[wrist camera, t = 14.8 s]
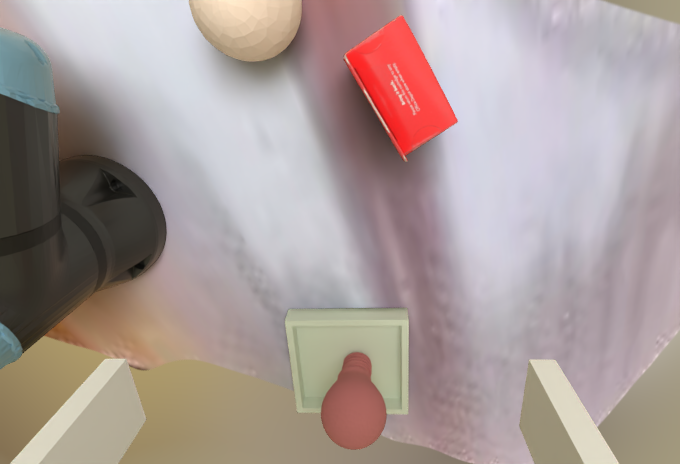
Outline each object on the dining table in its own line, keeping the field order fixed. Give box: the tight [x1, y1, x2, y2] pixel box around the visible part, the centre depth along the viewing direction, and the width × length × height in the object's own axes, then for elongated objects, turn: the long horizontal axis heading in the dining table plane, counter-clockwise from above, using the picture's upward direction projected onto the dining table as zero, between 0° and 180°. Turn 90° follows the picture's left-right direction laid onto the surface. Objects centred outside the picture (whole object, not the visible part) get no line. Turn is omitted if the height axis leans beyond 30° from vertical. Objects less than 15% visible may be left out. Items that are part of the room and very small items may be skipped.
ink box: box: [344, 15, 458, 162], centre depth 32 cm, size 8×5×15 cm, turn 33°
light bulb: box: [321, 352, 386, 449], centre depth 46 cm, size 7×7×12 cm
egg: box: [189, 0, 302, 62], centre depth 32 cm, size 9×9×11 cm
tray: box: [285, 308, 409, 414], centre depth 51 cm, size 15×15×2 cm
